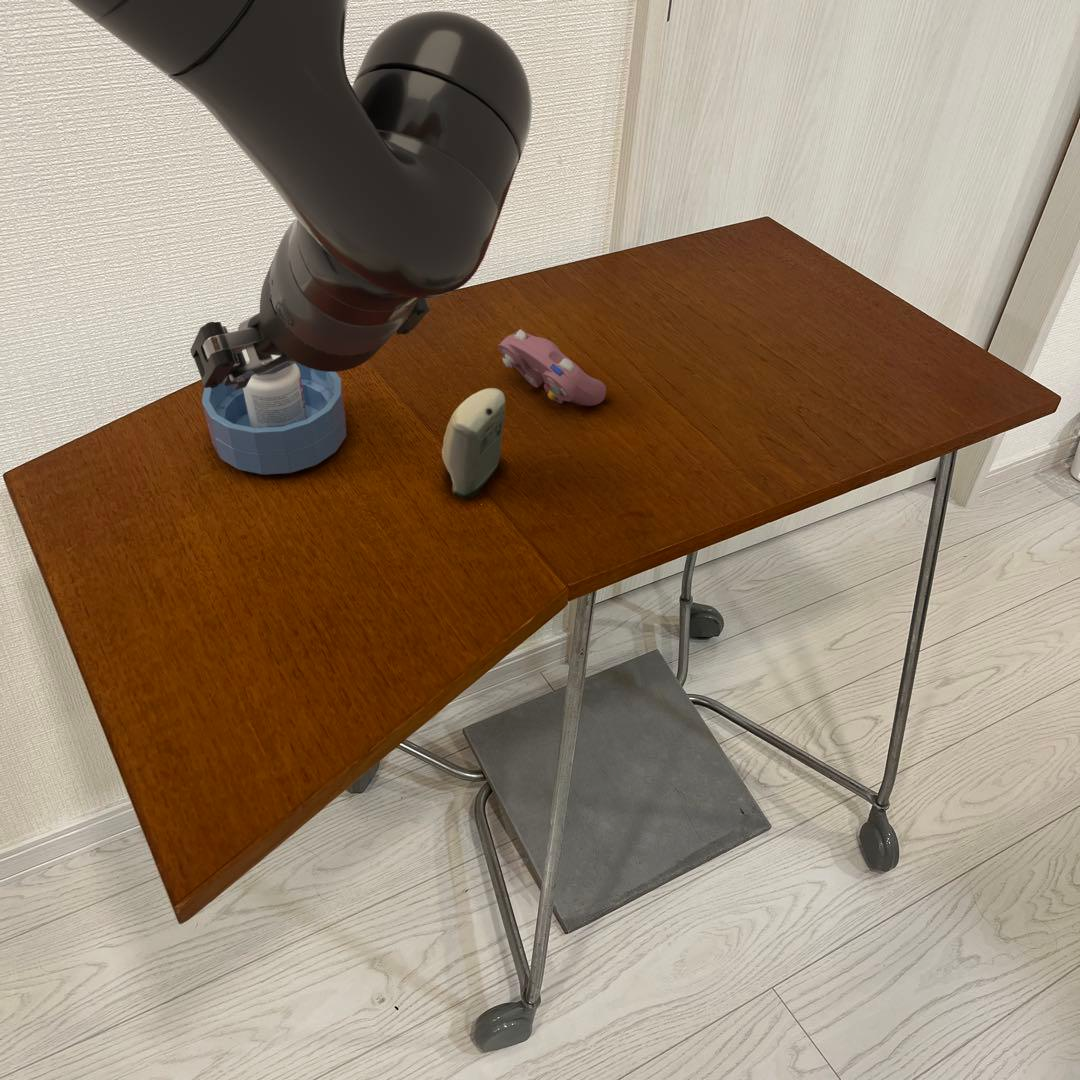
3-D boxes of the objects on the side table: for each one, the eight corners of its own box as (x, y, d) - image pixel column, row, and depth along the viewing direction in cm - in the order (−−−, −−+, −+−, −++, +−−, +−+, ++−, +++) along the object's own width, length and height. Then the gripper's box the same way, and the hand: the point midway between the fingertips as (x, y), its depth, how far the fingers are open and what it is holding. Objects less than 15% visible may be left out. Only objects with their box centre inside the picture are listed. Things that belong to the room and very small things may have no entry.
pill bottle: (321, 433, 87) (308, 349, 81) (275, 458, 84) (259, 374, 79) (287, 409, 89) (272, 326, 83) (241, 432, 87) (223, 349, 81)
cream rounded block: (508, 503, 82) (509, 424, 77) (444, 505, 82) (440, 427, 76) (503, 458, 86) (504, 380, 81) (442, 460, 86) (438, 382, 80)
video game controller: (508, 383, 97) (482, 339, 91) (540, 350, 97) (516, 304, 91) (580, 432, 91) (558, 389, 86) (613, 396, 92) (594, 351, 86)
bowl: (238, 495, 82) (227, 447, 78) (198, 421, 89) (185, 373, 85) (367, 454, 86) (362, 406, 83) (318, 386, 93) (312, 339, 89)
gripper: (435, 193, 57) (371, 282, 72) (185, 248, 52) (171, 332, 67) (480, 319, 58) (407, 381, 73) (237, 387, 52) (211, 439, 67)
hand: (294, 358), depth 70 cm, fingers open, 8 cm apart
